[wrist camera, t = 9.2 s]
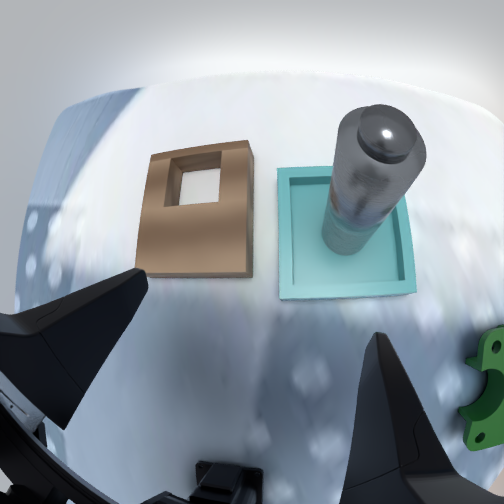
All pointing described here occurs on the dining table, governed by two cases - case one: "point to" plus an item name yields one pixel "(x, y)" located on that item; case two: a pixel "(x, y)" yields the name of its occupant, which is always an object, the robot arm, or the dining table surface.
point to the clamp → (487, 395)
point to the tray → (326, 261)
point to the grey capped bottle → (369, 174)
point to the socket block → (198, 216)
